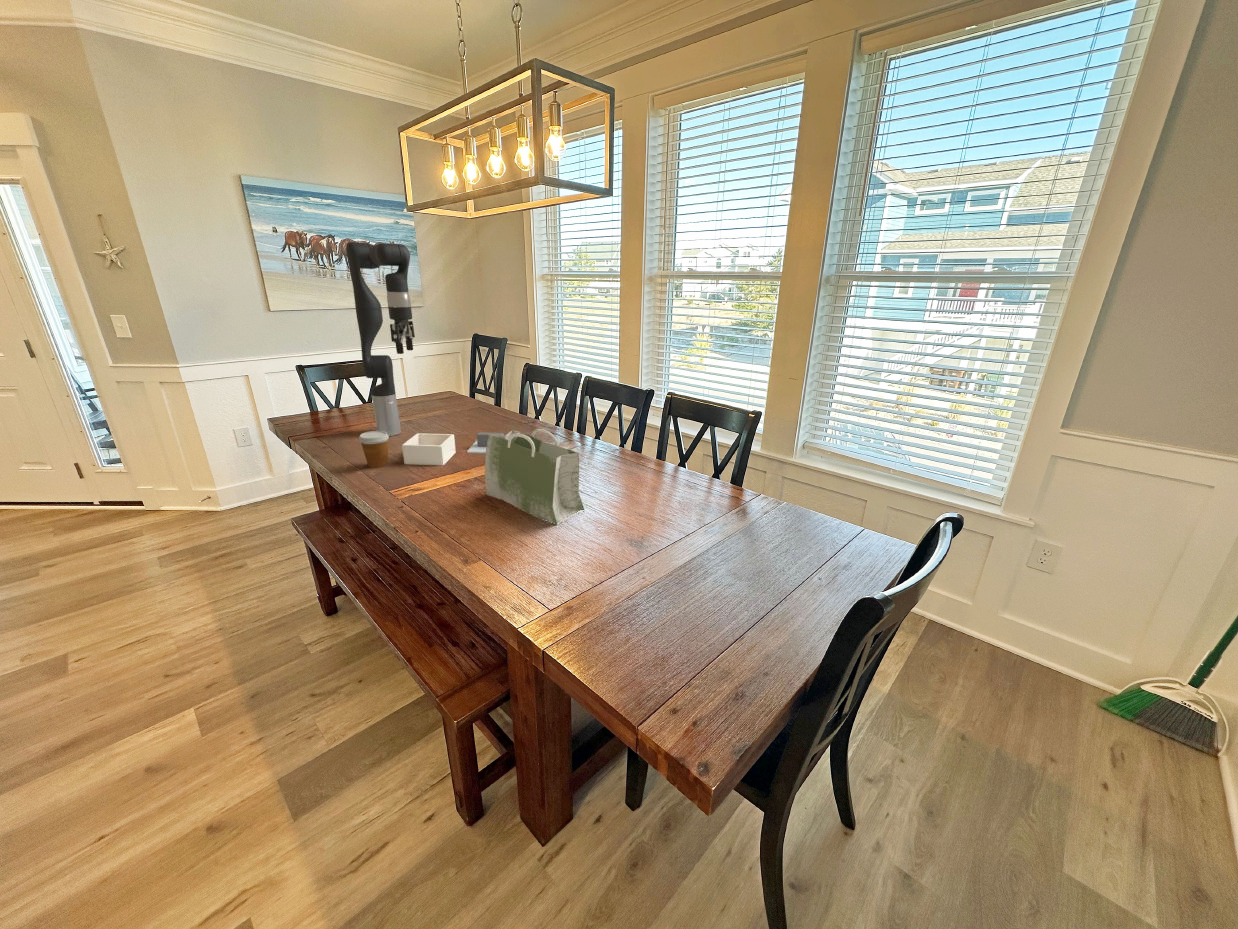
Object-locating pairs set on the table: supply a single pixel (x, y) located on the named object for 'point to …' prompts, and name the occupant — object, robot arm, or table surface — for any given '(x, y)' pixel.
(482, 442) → the box lid
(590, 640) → the table surface
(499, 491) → the grocery bag
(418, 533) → the table surface
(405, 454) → the storage box
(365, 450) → the disposable coffee cup
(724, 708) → the table surface
